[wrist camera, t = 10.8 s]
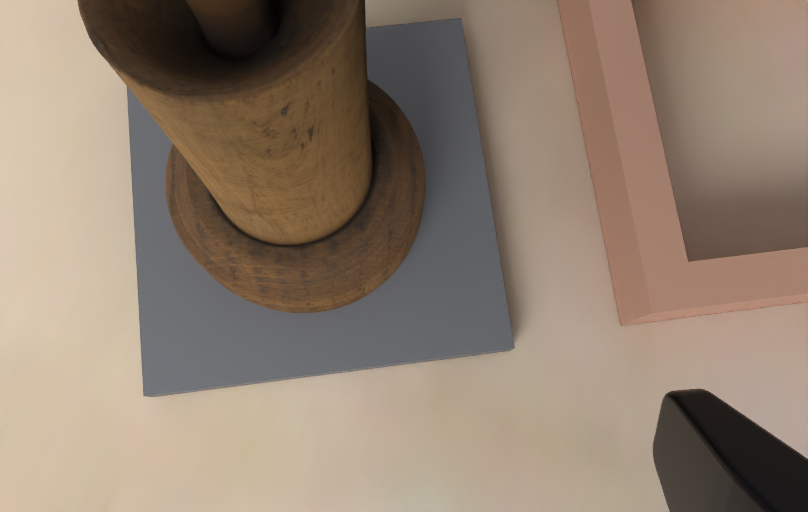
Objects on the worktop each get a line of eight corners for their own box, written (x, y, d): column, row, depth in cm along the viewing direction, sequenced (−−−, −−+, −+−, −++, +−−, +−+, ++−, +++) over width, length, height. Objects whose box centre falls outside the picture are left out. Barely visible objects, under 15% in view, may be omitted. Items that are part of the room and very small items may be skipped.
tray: (996, 277, 22) (1074, 259, 19) (620, 325, 21) (652, 313, 19) (891, -61, 24) (949, -115, 22) (552, -27, 23) (572, -79, 21)
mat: (509, 350, 21) (514, 347, 20) (152, 397, 20) (143, 396, 19) (458, 31, 23) (461, 18, 22) (133, 65, 22) (125, 52, 22)
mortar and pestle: (205, 338, 20) (-1200, -314, 2) (169, 118, 21) (-876, -1370, 4) (444, 287, 20) (851, -574, 3) (395, 75, 22) (454, -1417, 4)
